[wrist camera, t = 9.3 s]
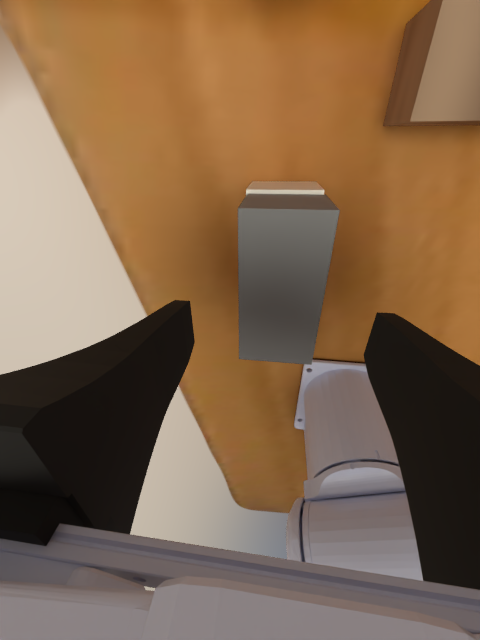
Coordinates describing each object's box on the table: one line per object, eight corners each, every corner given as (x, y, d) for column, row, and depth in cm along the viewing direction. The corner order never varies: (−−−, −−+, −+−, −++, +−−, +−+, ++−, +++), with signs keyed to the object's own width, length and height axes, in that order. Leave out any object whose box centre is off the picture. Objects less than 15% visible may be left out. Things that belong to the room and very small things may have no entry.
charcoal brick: (305, 324, 18) (311, 364, 15) (246, 320, 19) (239, 359, 15) (325, 194, 14) (339, 210, 11) (247, 193, 14) (237, 208, 11)
